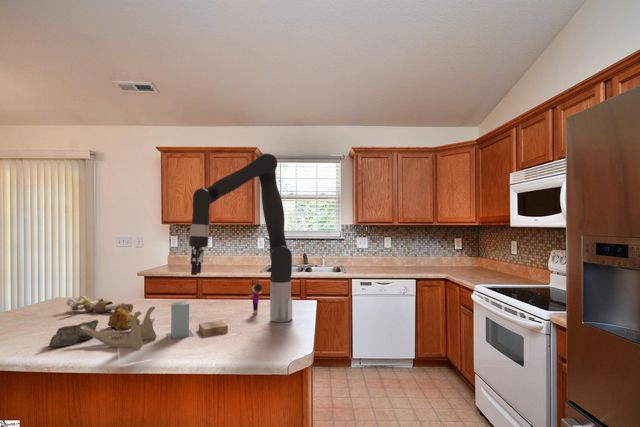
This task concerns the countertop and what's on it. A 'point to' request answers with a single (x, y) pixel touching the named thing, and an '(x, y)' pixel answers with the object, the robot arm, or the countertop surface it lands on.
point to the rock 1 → (71, 334)
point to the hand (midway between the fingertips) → (195, 274)
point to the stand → (213, 328)
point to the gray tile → (178, 337)
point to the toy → (256, 297)
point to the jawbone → (126, 333)
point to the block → (179, 319)
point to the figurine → (96, 305)
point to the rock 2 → (121, 319)
